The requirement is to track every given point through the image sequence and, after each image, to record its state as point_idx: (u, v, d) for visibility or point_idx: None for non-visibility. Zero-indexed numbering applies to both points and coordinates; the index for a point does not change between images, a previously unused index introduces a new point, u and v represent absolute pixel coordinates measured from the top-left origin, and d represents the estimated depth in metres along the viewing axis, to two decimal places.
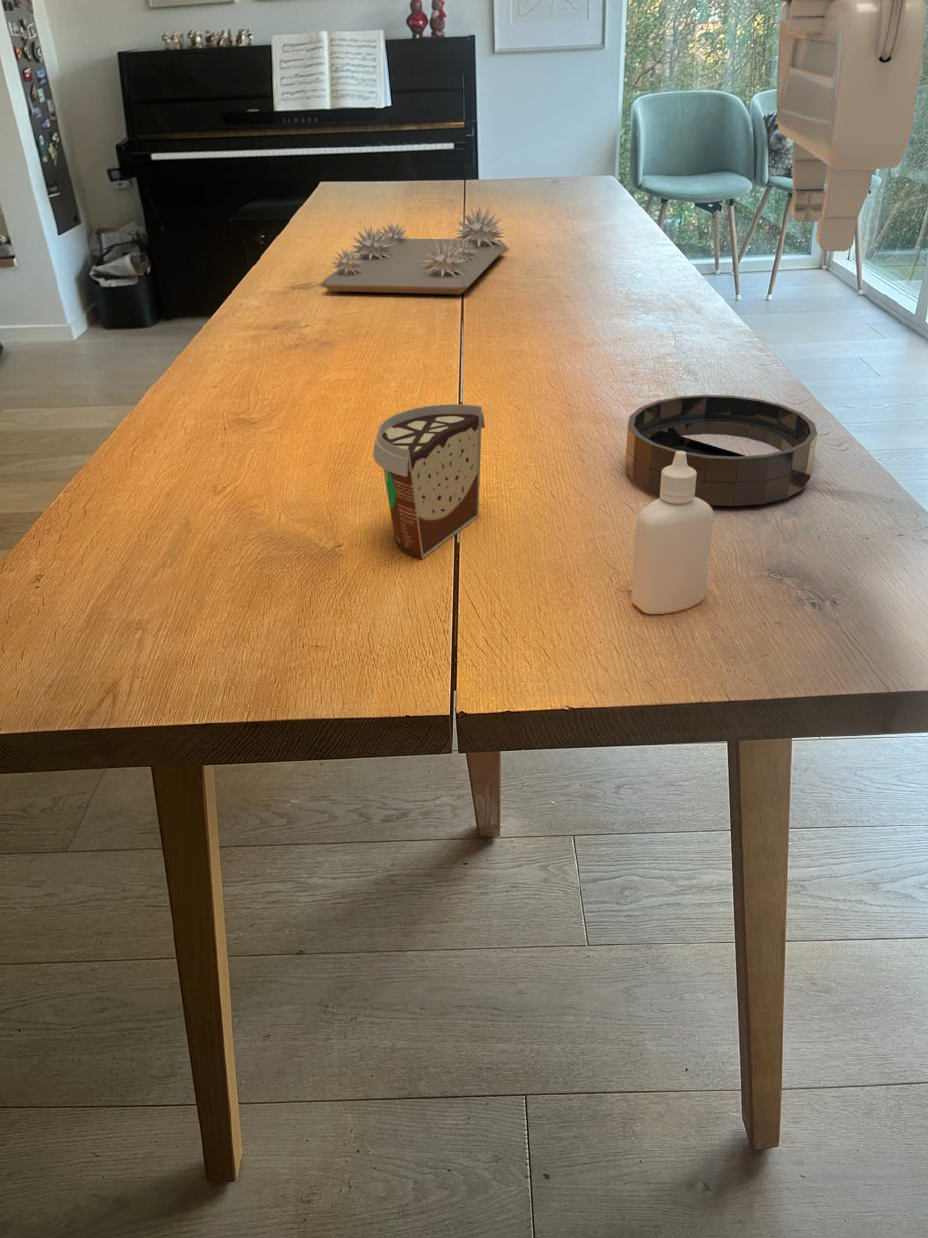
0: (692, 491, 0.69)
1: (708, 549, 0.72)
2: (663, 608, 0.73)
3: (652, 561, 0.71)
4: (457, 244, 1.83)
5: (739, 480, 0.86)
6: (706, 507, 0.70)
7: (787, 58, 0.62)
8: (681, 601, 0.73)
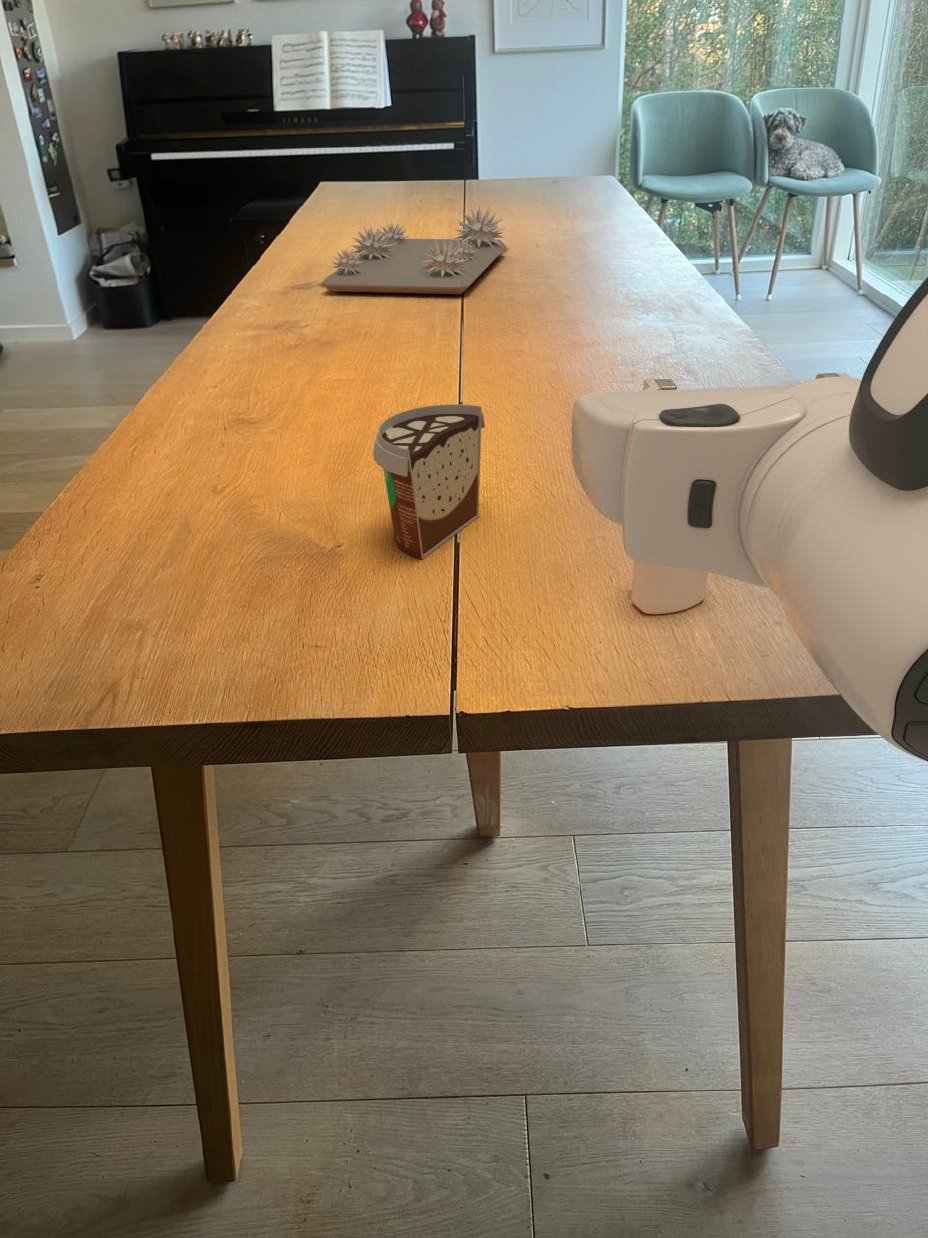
0: None
1: None
2: (663, 608, 0.73)
3: None
4: (457, 244, 1.84)
5: None
6: None
7: None
8: (681, 601, 0.73)
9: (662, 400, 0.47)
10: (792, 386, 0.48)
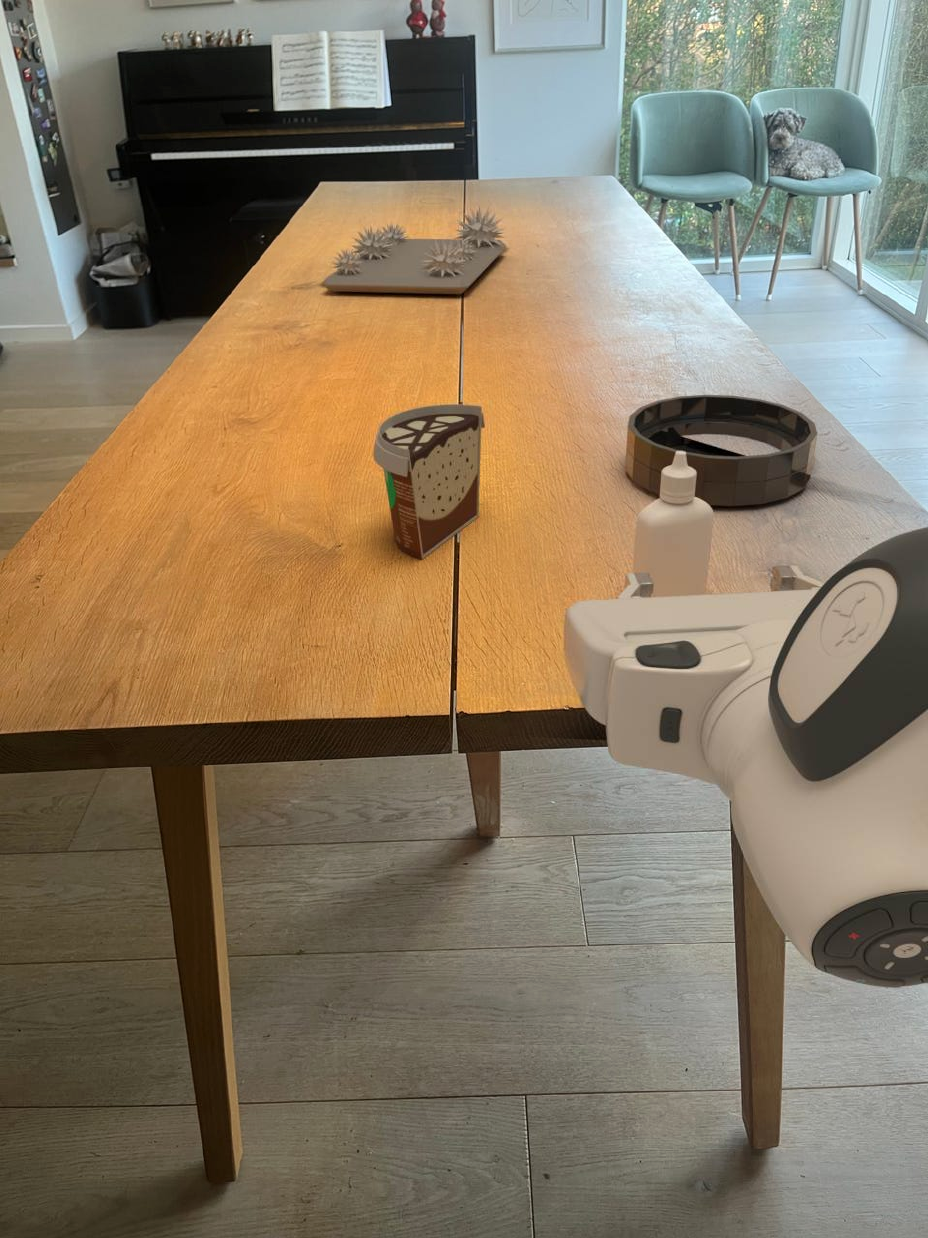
0: (692, 491, 0.69)
1: (708, 549, 0.72)
2: None
3: (652, 561, 0.71)
4: (457, 244, 1.84)
5: (739, 480, 0.86)
6: (706, 507, 0.70)
7: None
8: None
9: (639, 613, 0.56)
10: (749, 595, 0.58)
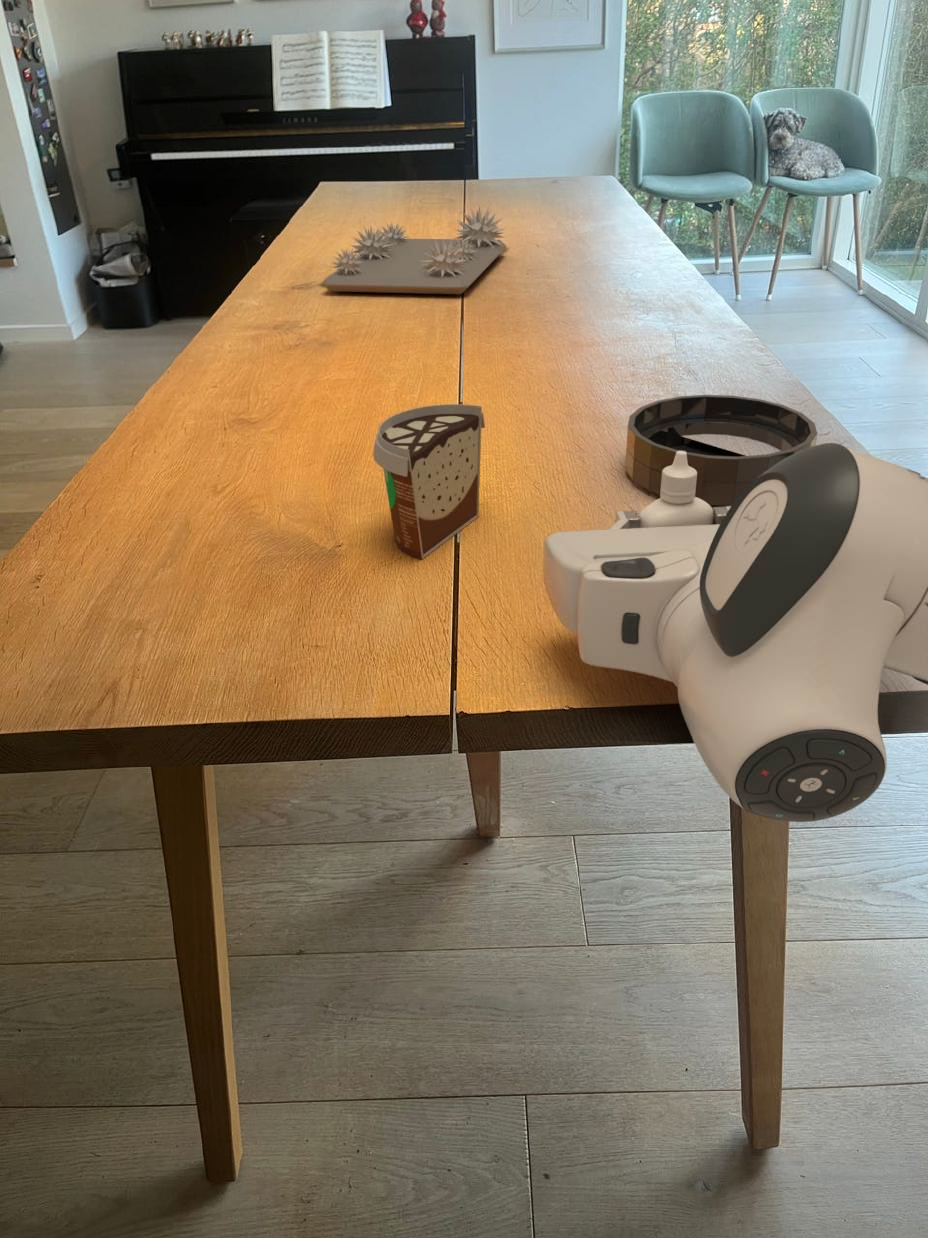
0: (693, 491, 0.69)
1: None
2: None
3: None
4: (457, 244, 1.84)
5: (739, 480, 0.86)
6: (706, 507, 0.70)
7: None
8: None
9: (608, 540, 0.65)
10: (703, 526, 0.67)
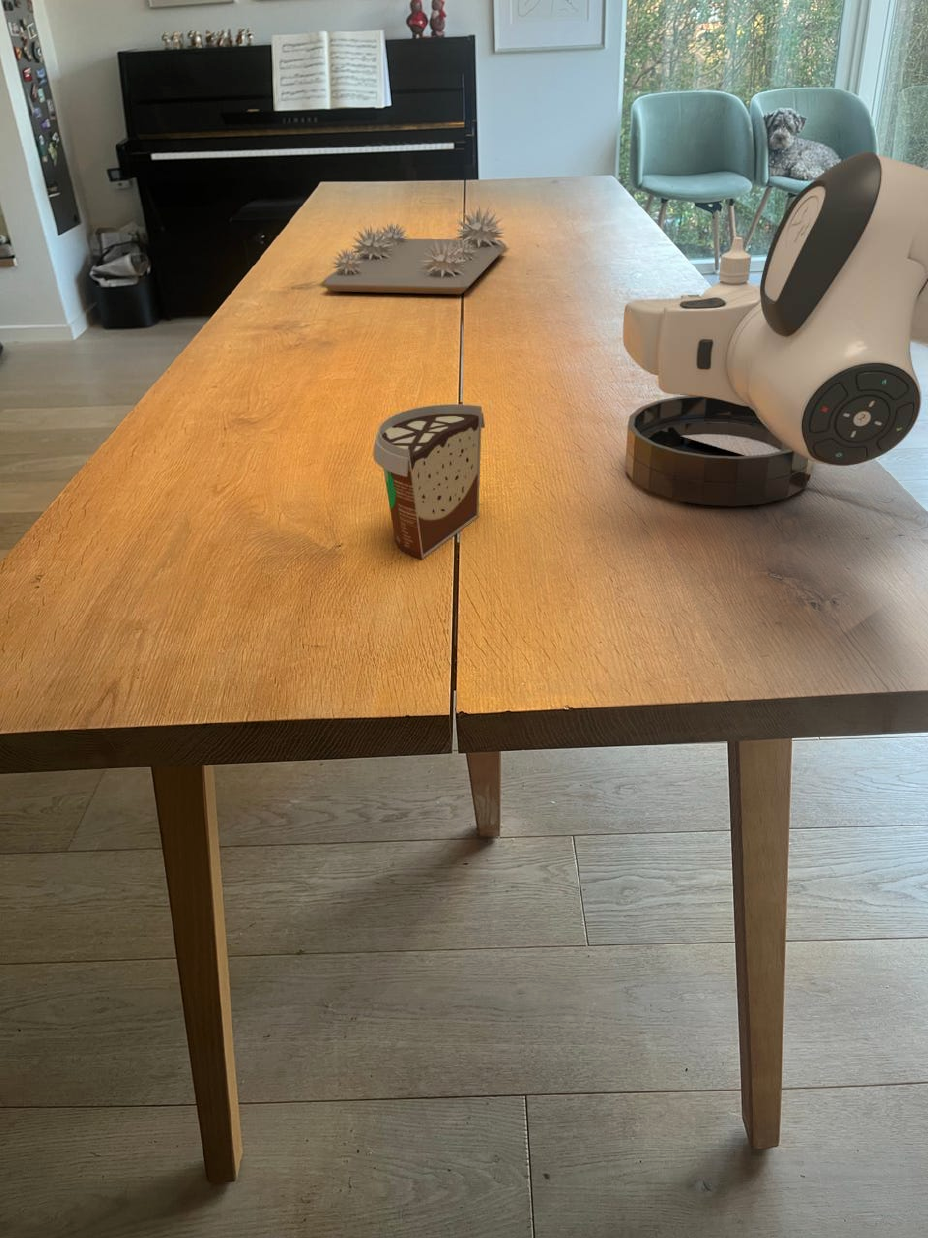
0: (747, 272, 0.82)
1: None
2: None
3: None
4: (457, 244, 1.83)
5: (739, 480, 0.86)
6: None
7: None
8: None
9: None
10: None
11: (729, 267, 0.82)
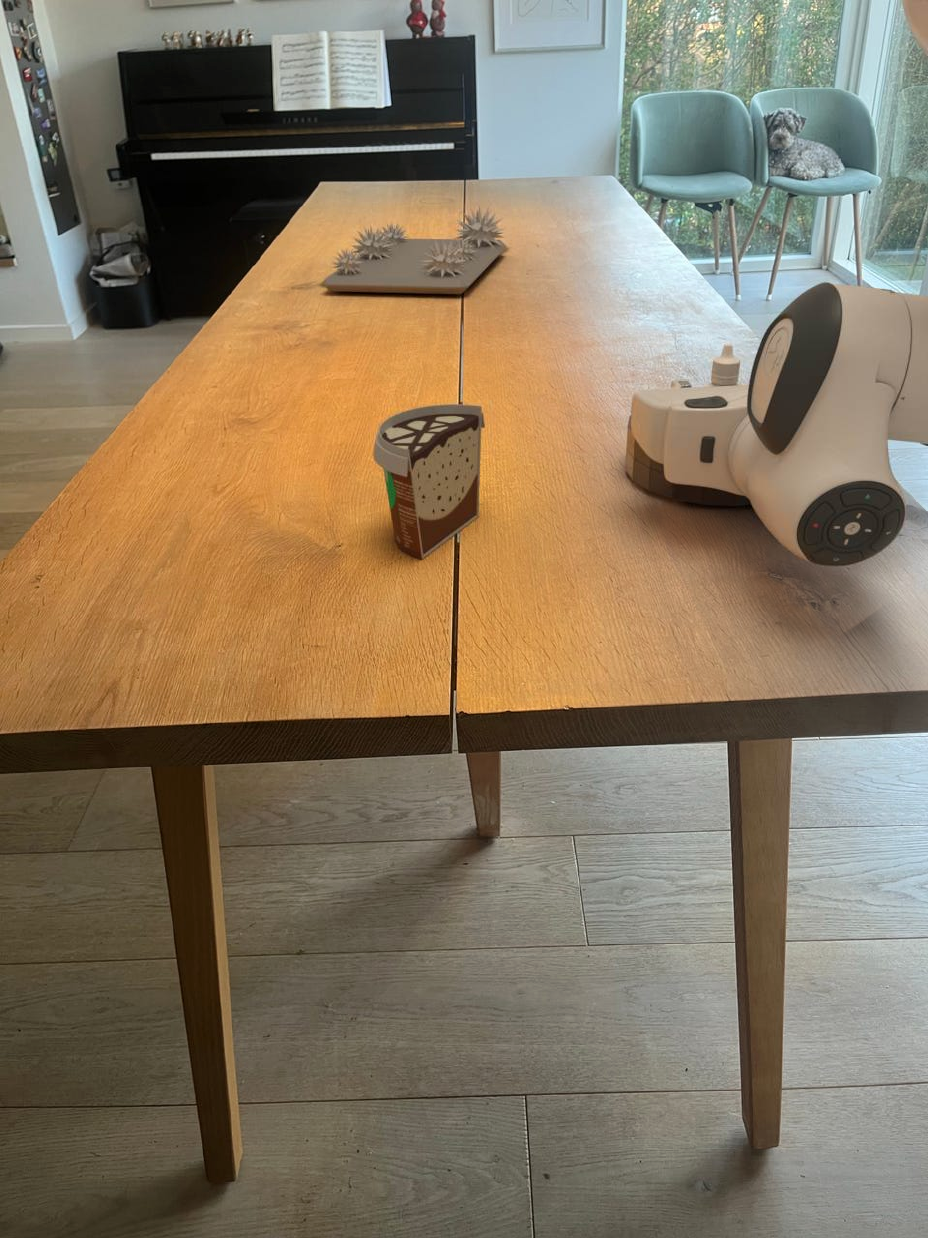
0: (736, 375, 0.90)
1: None
2: None
3: None
4: (457, 244, 1.84)
5: None
6: None
7: None
8: None
9: (684, 393, 0.83)
10: None
11: (720, 371, 0.89)
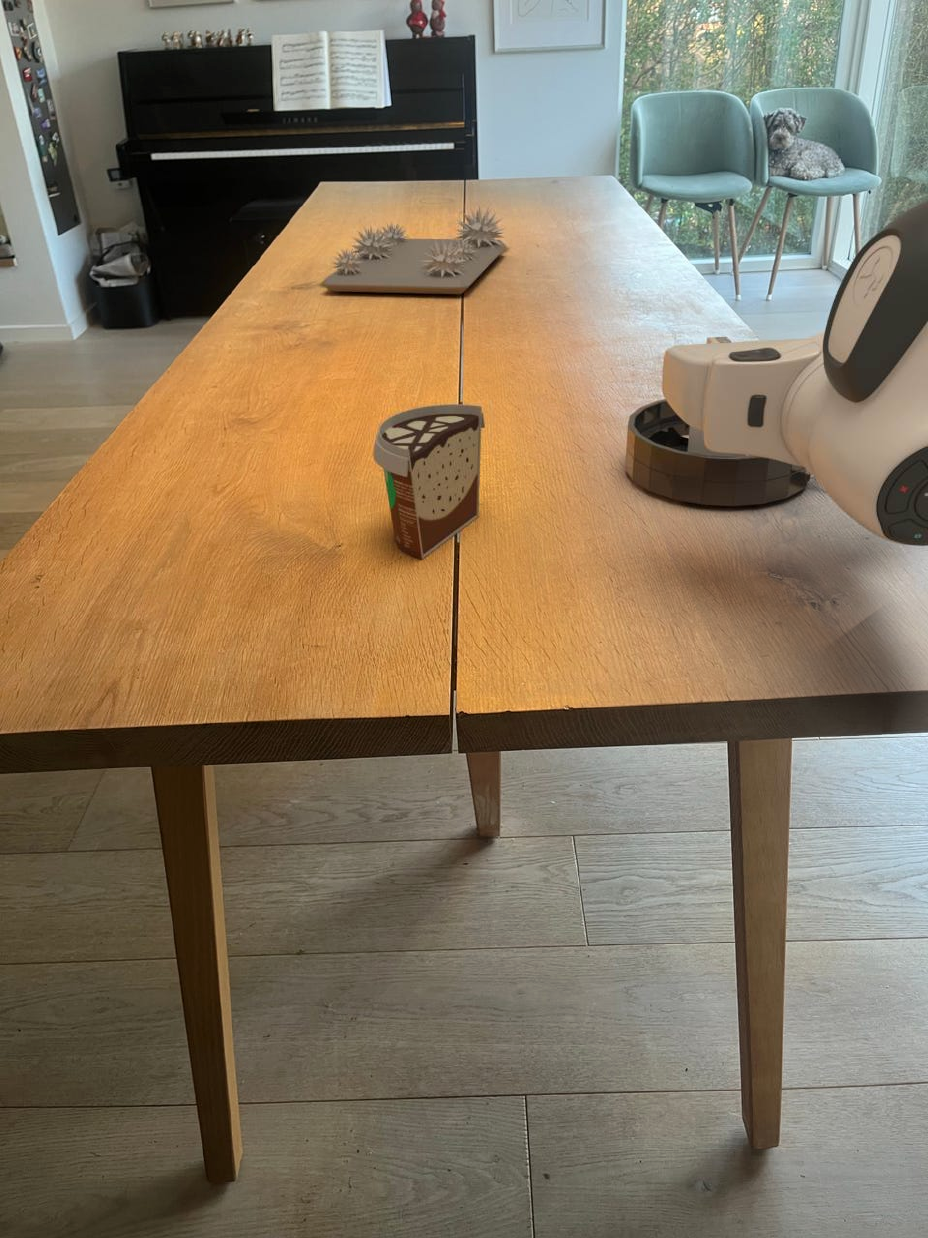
0: None
1: None
2: None
3: None
4: (457, 244, 1.84)
5: (739, 480, 0.86)
6: None
7: None
8: None
9: (725, 349, 0.71)
10: None
11: None
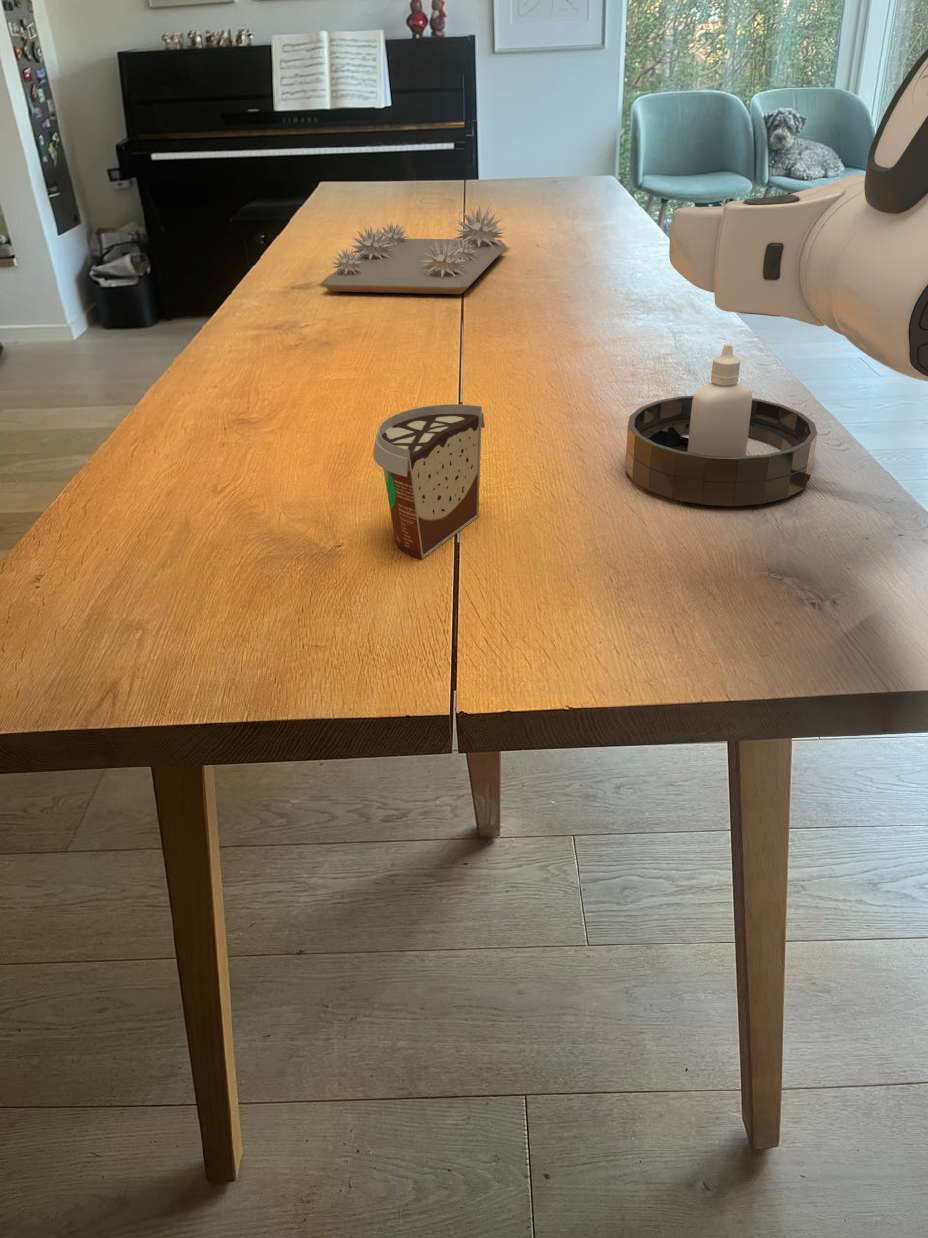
0: (736, 375, 0.90)
1: (747, 424, 0.93)
2: None
3: (705, 432, 0.91)
4: (457, 244, 1.84)
5: (739, 480, 0.86)
6: (747, 389, 0.91)
7: None
8: None
9: None
10: None
11: (720, 371, 0.89)
